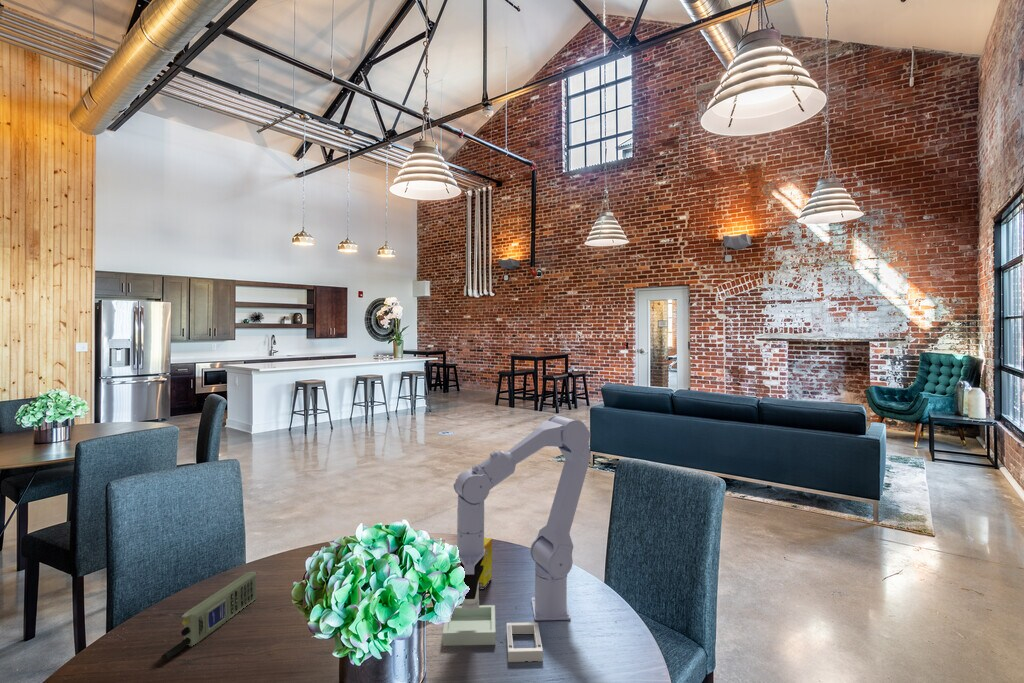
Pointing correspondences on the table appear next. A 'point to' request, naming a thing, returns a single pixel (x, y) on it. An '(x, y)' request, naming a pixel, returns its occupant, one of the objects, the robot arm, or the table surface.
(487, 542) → the supplement box
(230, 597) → the handheld radio
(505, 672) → the table surface
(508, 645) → the holder
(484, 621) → the parts tray
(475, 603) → the cylinder
